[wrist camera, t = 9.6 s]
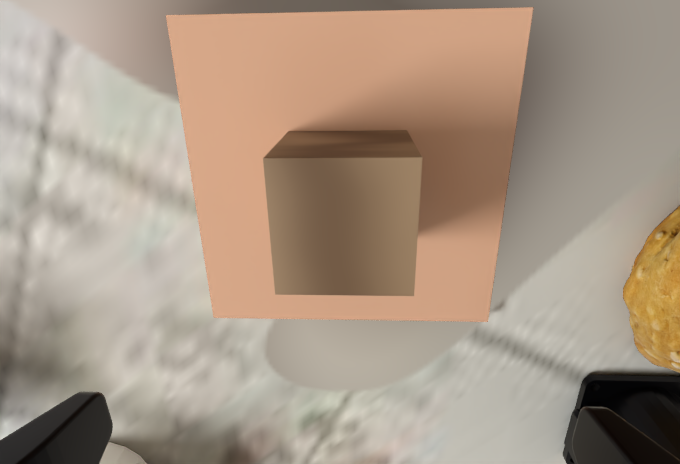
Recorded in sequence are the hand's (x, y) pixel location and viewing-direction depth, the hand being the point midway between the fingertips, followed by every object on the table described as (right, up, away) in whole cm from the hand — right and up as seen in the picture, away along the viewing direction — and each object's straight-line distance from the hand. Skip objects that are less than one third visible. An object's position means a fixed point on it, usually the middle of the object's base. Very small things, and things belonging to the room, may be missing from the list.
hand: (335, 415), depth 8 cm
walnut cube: (0, +5, +11) cm, 12 cm away
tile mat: (0, +6, +12) cm, 13 cm away
